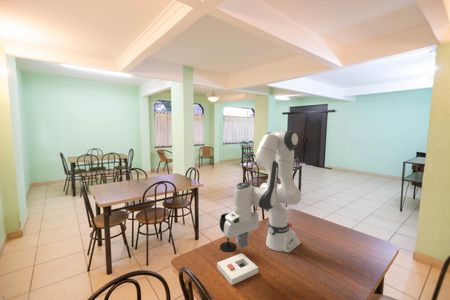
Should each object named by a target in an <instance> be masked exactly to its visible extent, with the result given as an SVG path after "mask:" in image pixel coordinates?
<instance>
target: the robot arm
mask: <svg viewBox="0 0 450 300" xmlns="http://www.w3.org/2000/svg"><path fill="white" fill-rule="evenodd" d="M298 143H299V136H298V132H296V131H295V130H289V129H288V130H275V131H270V132H269V131H268V132H267V133H265V134H264V135H263V137H261V139H260V142H259V144H258V145H257V149H256V152H255V161H256V163H257V164H258V165H259V166H260V167H262V168H264V169H265V170H266V171H267V173H268V177H267V182H263V183H262V184H261V185H260V186H259V187H257V186H253V185H251V184H250V183H248V182H239V183H236V185H235V188H234V194H233V202H234V207H233V210H232V211H230V212H228V213H229V214H228V215H226V216H225V219H226V222H225V224H224V233H223V235H224V236H225V237H226V238H227V237H228V238H229V239H230V238H233V237H234V238H235V243H236V244H237V243H239V242H240V239H239V238H238V235H240V234H243V233H246V232H247V233H248V237H249V236H250V235H251V232H252V231H255V230H259V228H260V220H259V212H257V211H253V212H252V206H253V207H258V208H261V209H262V210H265V211H268V219H269V220H268V225H267V228H268V230H267V236H266V241H265V244H266V246H267V247H268V249H270V250H273V251H276V252H284V253H290V252H292V251H293V250H294V249H295V248H297V247H298V246H299V245H301V240H300V239H298V237H297V234H296V232H295V231H293V230H292V229H291V228H292V227H293V224H292V223H290V222H288V221H289V219H288V218H289V217H288V216H289V213H288V210H287V209H286V208H285V207H284V206H283V205H281V204H284V205H290V206H292V205H293V206H295V205H298V204H299V203H300V201H301V200H302V193H301V191H300V189H299V188H298V187H297V185H296V184H295V182H294V180H293V171H294V170H293V169H294V168H293V167H294V163H295V148H296V147H297V146H298ZM278 180H279V181H280V183H278Z"/></svg>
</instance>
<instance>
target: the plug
mask: <svg viewBox="0 0 450 300" xmlns="http://www.w3.org/2000/svg"><path fill="white" fill-rule="evenodd" d="M238 238H239V239H240V242H239V243H237V242H236V246H239V248H241V249H242V248H245V247H248V246H249V245H248V242H249V241H248V240H249V236H248V233H247V232H246V233H243V234H240V235H238Z"/></svg>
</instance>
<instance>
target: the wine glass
mask: <svg viewBox="0 0 450 300" xmlns="http://www.w3.org/2000/svg"><path fill="white" fill-rule="evenodd" d="M229 213H230V212H228V213H227V212H226V213H222V214H221V215H220V219H219V228H220V230H221V232H222V233H223V234H224V224H225V222H226V219H225V216H226V215H228V214H229ZM226 239H227V240H226V241H224V242H222V243H221V244H220V245H219V249H220V250H221V251H222V252H224V253H231V252H235V250H237V244H235V243H234V242H232V241H230V238H228V237H226Z"/></svg>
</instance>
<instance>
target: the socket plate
mask: <svg viewBox="0 0 450 300" xmlns="http://www.w3.org/2000/svg"><path fill="white" fill-rule="evenodd" d="M216 268H217V270H218V271H219V272H220V273H221V274H222V276H224V278H225V279H226V280H227V282H228V283H229V284H230V285H231V286H233V285H235V284H238V283H240V282H241V281H244V280H246V279H248V278H250V277H253V276H254V275H257V274H258V273H259V267H258V266H257V265H256V264H255V263H254V262H253V261H251V260H250V259H249V258H248V257H247V256H246V255H245V254H243V253H242V252H241V253H238V254H235V255H234V256H231V257H229V258H225V259H223V260H220V261H217V262H216Z"/></svg>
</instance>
